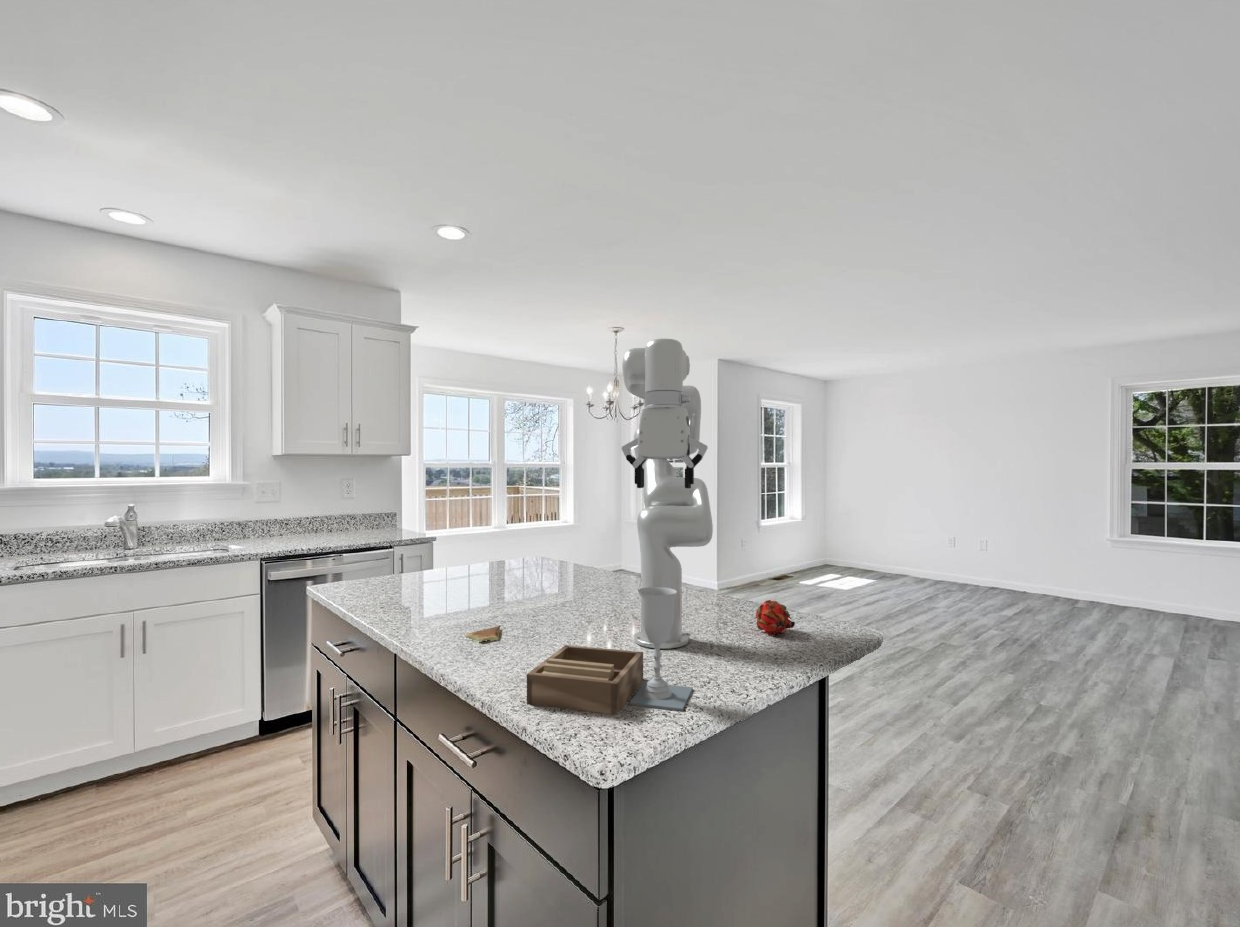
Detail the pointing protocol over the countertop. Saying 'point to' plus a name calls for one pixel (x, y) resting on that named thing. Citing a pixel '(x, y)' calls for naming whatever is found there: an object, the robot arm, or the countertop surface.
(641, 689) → the mat
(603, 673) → the offcut stack
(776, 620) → the dragon fruit
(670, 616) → the chalice
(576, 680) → the frame
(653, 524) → the robot arm
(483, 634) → the shard
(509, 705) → the countertop surface
